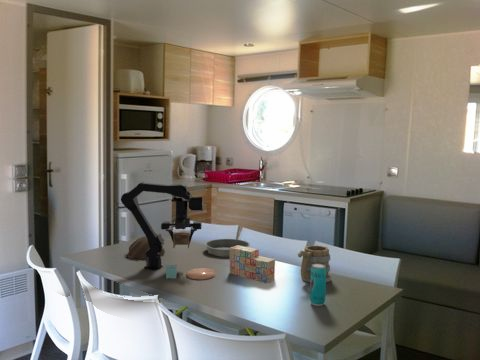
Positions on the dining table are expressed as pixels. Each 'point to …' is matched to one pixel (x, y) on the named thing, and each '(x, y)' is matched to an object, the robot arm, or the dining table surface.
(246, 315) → the dining table surface
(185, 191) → the robot arm
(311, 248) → the tankard
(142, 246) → the decorative dome
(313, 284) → the beverage can
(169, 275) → the block
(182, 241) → the brown wooden open box
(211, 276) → the dish
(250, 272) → the stack of blocks
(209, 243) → the cake pan
